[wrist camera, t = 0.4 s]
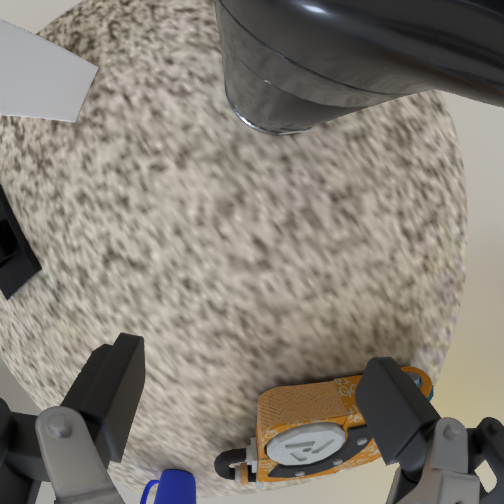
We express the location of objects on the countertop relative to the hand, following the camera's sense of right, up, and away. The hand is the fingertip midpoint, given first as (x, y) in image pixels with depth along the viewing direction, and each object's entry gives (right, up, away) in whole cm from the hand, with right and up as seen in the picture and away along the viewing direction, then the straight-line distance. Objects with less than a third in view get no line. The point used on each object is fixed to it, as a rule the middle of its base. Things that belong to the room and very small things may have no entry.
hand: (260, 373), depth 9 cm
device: (+9, -21, +27) cm, 35 cm away
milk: (-19, +20, +11) cm, 30 cm away
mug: (-17, -41, +32) cm, 54 cm away
